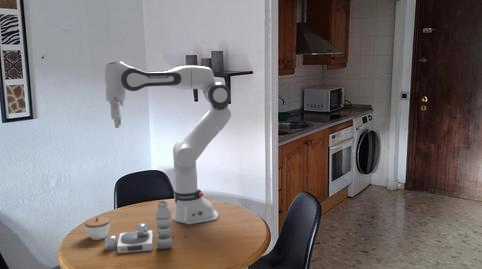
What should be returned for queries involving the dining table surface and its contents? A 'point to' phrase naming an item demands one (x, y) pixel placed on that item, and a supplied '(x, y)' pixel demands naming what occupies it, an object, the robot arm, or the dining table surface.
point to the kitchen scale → (134, 242)
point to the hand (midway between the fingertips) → (118, 126)
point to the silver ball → (142, 230)
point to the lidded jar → (97, 227)
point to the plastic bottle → (163, 226)
